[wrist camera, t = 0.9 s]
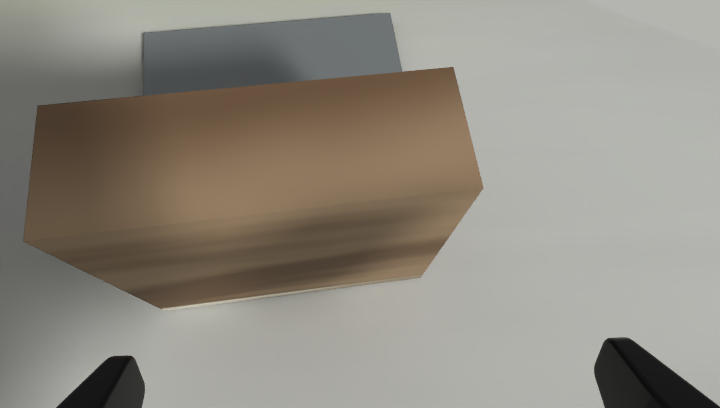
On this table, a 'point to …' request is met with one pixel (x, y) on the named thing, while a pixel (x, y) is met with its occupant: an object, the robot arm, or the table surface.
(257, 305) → the table surface
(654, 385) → the robot arm
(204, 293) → the walnut block
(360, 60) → the mat
